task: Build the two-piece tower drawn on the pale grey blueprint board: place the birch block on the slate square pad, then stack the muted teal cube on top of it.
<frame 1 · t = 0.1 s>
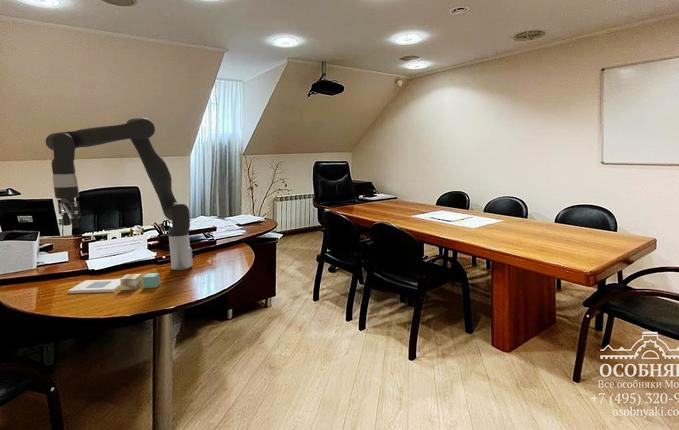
hand: (71, 226, 142), 29 cm above the table, fingers open, 8 cm apart
board: (99, 287, 157), on the table
teal cube: (152, 285, 159), on the table
birch block: (132, 287, 157), on the table
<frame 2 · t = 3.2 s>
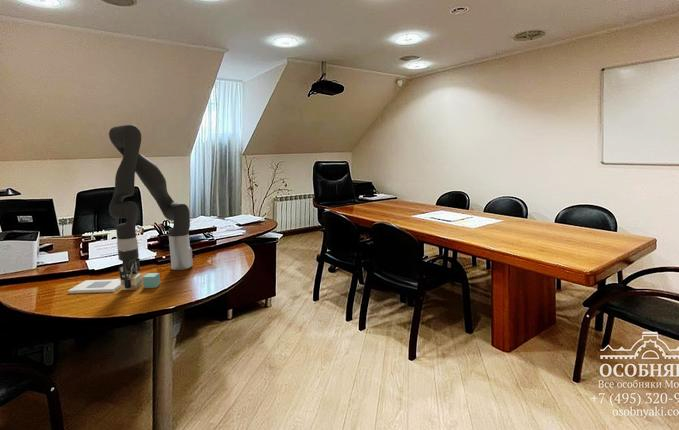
hand: (131, 285, 157), 1 cm above the table, fingers closed on birch block, 6 cm apart
birch block: (132, 287, 157), on the table, touching gripper
everything else where it was.
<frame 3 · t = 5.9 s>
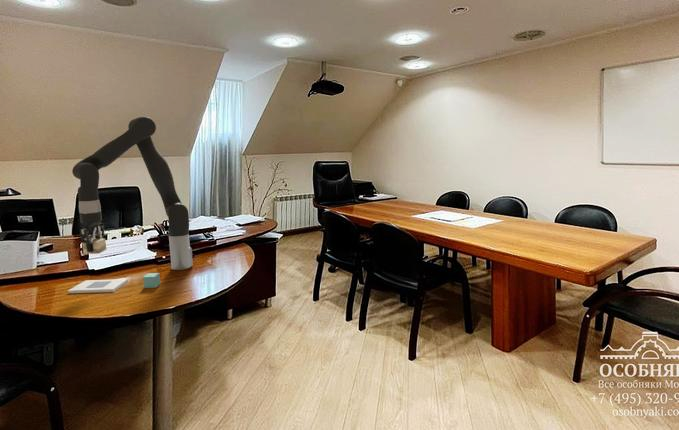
hand: (94, 249, 154), 17 cm above the table, fingers closed on birch block, 6 cm apart
birch block: (95, 251, 154), point 16 cm above the table, touching gripper
everything else where it was.
when the fingers open (3 cm above the table, at t = 8.8 s): birch block stays where it is, resting on board.
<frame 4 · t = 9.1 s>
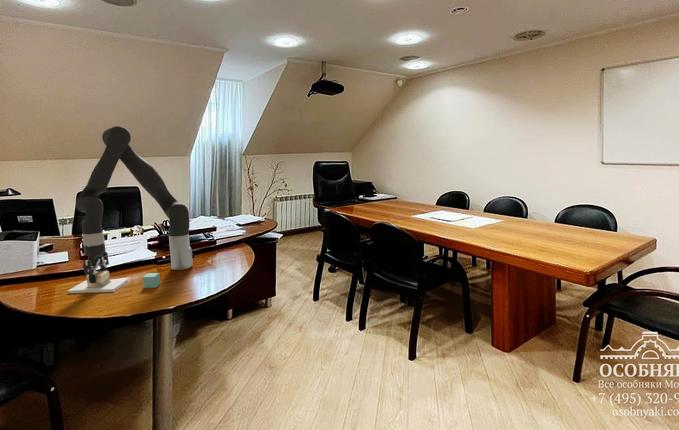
hand: (98, 279, 156), 4 cm above the table, fingers open, 8 cm apart
birch block: (99, 284, 157), point 1 cm above the table, touching board
everything else where it was.
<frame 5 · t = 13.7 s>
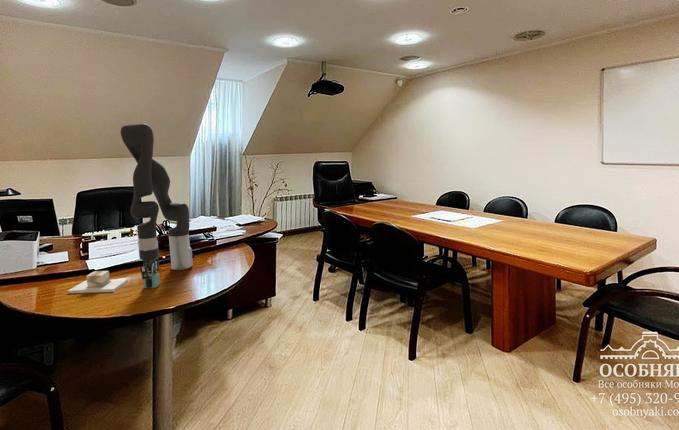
hand: (152, 284, 159), 0 cm above the table, fingers closed on teal cube, 5 cm apart
teal cube: (152, 285, 159), on the table, touching gripper
everything else where it was.
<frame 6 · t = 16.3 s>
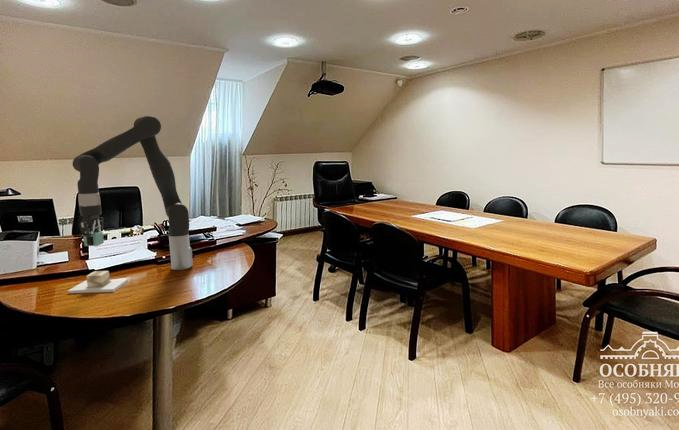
hand: (94, 243, 153), 20 cm above the table, fingers closed on teal cube, 5 cm apart
teal cube: (94, 244, 153), point 19 cm above the table, touching gripper
everything else where it was.
when the fingers open (8 cm above the table, at t = 19.0 s): teal cube stays where it is, resting on birch block.
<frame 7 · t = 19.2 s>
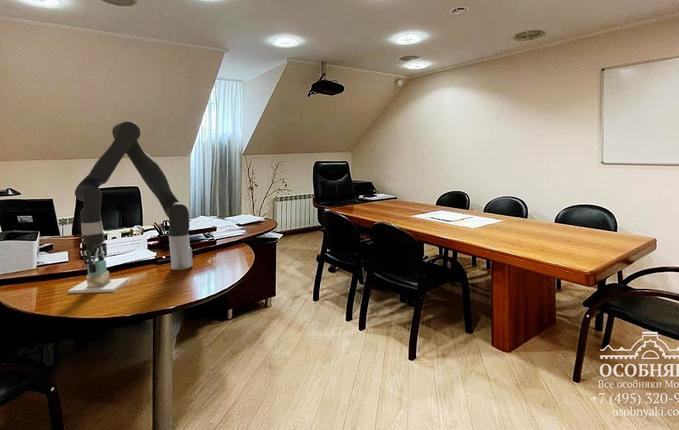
hand: (97, 269, 155), 8 cm above the table, fingers open, 6 cm apart
teal cube: (97, 273, 156), point 6 cm above the table, touching birch block
birch block: (99, 284, 157), point 1 cm above the table, touching board, teal cube
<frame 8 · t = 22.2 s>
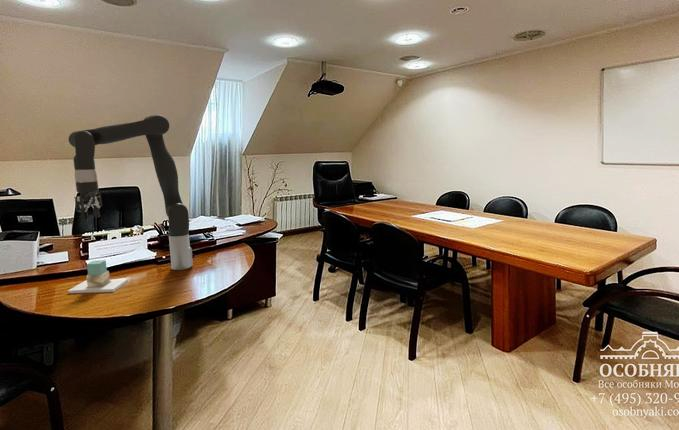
hand: (91, 219, 152), 30 cm above the table, fingers open, 8 cm apart
nothing on the table moved.
at the end: birch block inside the target area on the board (0.0 cm from its centre), point 1.3 cm above the board's base; teal cube 0.0 cm off-centre on the birch block, point 5.0 cm above the birch block's base; teal cube tilted 0° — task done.
